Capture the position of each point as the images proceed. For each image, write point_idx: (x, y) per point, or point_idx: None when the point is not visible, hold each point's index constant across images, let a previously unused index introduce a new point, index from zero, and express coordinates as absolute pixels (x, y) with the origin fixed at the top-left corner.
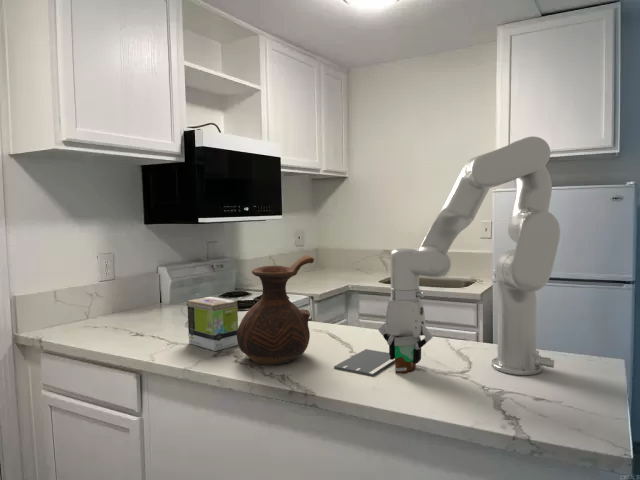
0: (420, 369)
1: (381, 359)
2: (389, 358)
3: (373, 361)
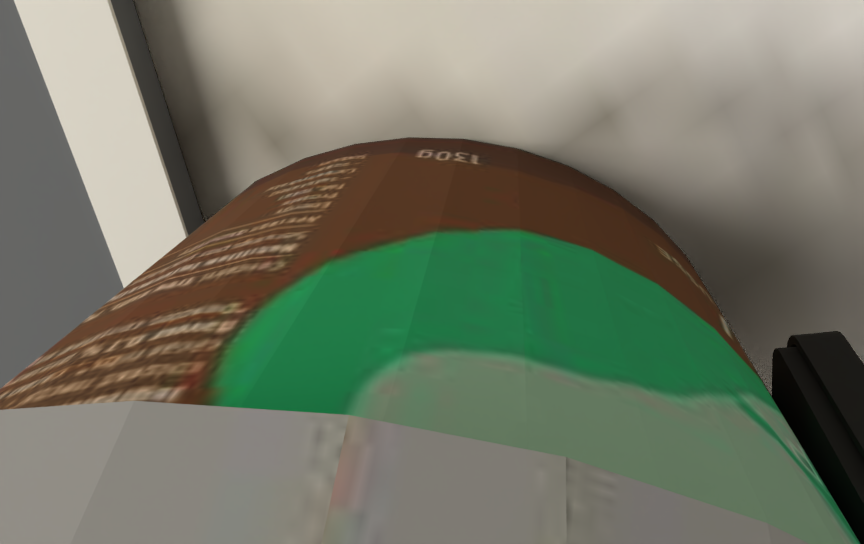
0: (801, 259)
1: (8, 335)
2: (54, 210)
3: None
